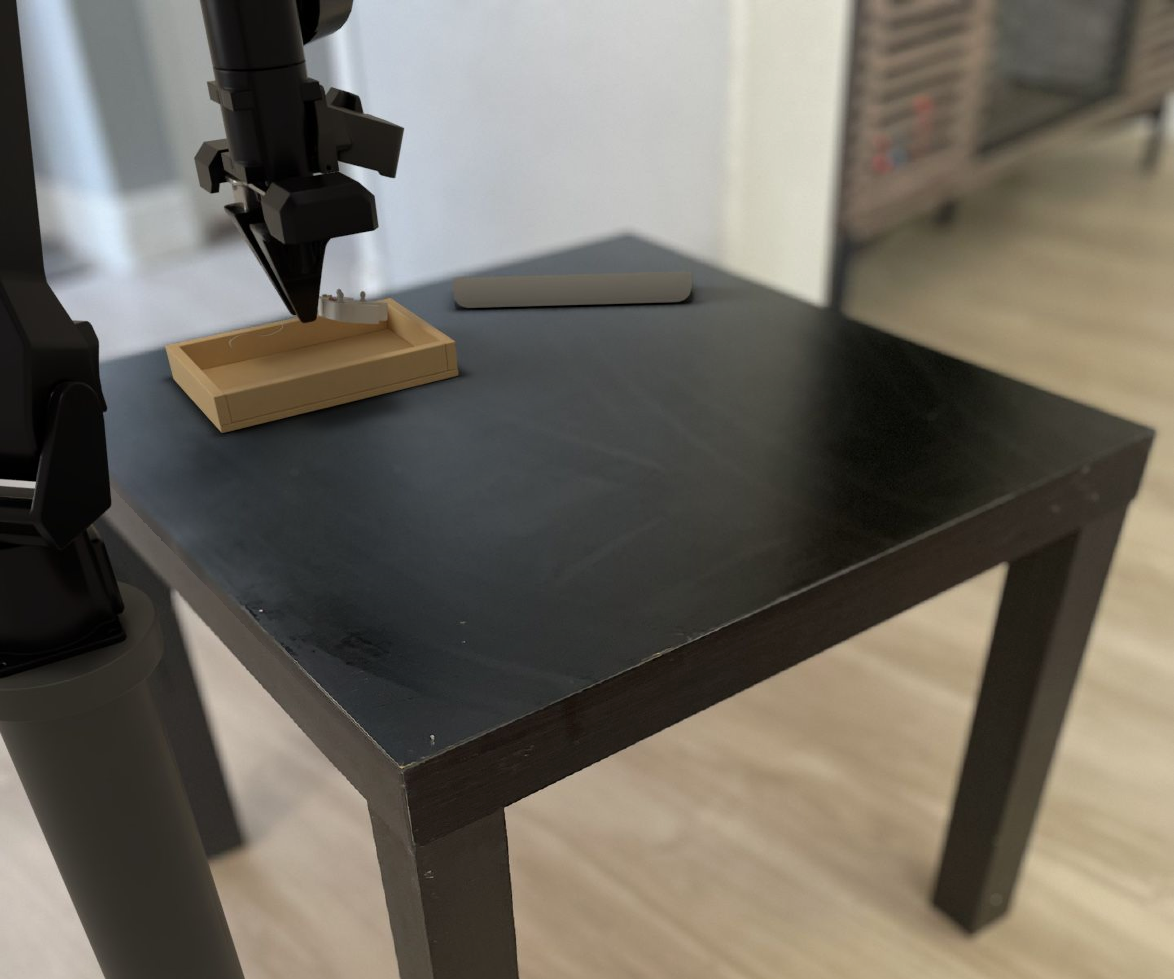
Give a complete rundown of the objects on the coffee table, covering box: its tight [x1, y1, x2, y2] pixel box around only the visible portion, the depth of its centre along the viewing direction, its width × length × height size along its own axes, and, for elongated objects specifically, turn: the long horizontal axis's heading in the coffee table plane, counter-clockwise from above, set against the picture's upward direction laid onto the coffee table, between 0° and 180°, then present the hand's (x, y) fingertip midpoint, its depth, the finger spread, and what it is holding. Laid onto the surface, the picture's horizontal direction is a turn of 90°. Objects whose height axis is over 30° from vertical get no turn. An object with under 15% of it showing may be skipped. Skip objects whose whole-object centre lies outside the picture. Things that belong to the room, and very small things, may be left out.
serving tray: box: [164, 297, 459, 434], centre depth 87 cm, size 18×12×2 cm, turn 121°
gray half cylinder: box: [452, 270, 694, 309], centre depth 99 cm, size 4×20×2 cm, turn 89°
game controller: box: [229, 288, 388, 347], centre depth 85 cm, size 6×12×3 cm, turn 142°
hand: (303, 317), depth 85 cm, fingers closed on game controller, 2 cm apart
